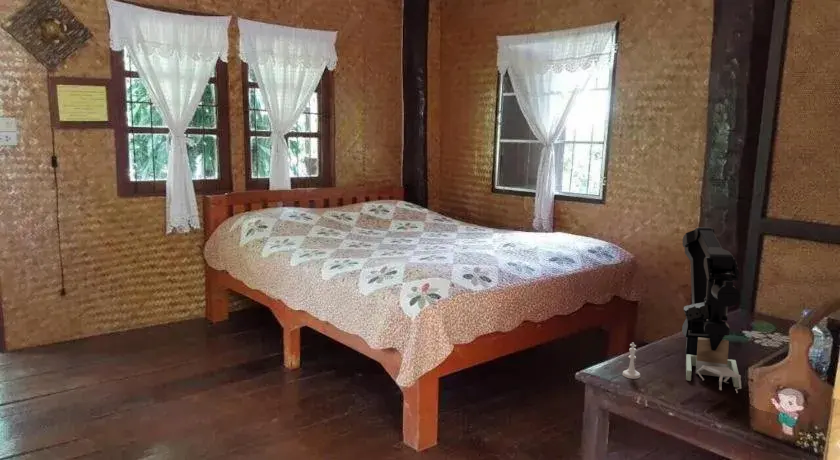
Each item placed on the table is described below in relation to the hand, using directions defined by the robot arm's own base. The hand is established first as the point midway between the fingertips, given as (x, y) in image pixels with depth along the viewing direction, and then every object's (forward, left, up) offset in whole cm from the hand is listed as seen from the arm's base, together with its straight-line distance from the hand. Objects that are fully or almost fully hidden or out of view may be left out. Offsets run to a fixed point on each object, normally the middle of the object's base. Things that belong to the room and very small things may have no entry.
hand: (713, 348), depth 180 cm
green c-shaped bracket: (0, 0, -8) cm, 8 cm away
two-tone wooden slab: (0, 0, -8) cm, 8 cm away
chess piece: (-22, -8, -8) cm, 24 cm away
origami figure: (+1, -7, -8) cm, 11 cm away
